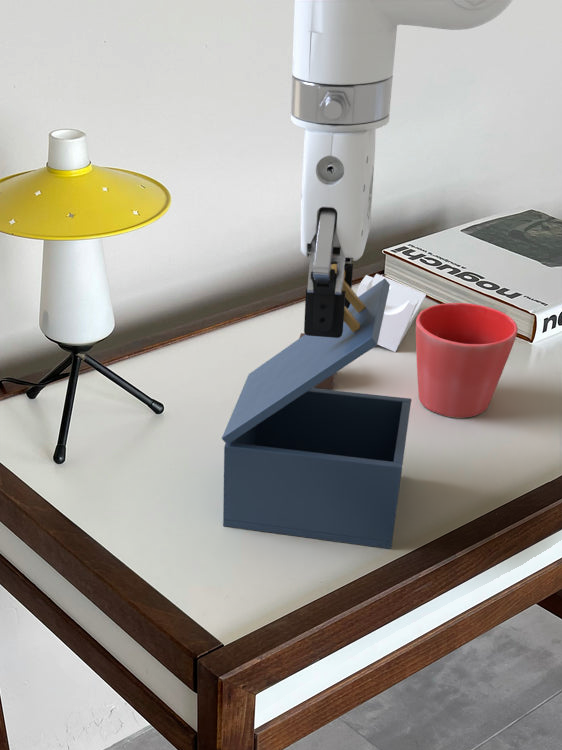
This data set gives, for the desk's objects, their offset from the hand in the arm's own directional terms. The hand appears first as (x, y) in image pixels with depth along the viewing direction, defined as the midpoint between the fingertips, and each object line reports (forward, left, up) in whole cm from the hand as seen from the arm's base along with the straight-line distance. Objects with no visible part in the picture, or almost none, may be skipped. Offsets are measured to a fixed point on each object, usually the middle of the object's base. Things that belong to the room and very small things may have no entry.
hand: (327, 318), depth 87 cm
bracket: (-4, -41, -19) cm, 45 cm away
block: (+3, -25, -19) cm, 32 cm away
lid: (+1, 0, -5) cm, 5 cm away
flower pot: (-13, -23, -19) cm, 33 cm away
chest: (0, 0, -19) cm, 19 cm away
